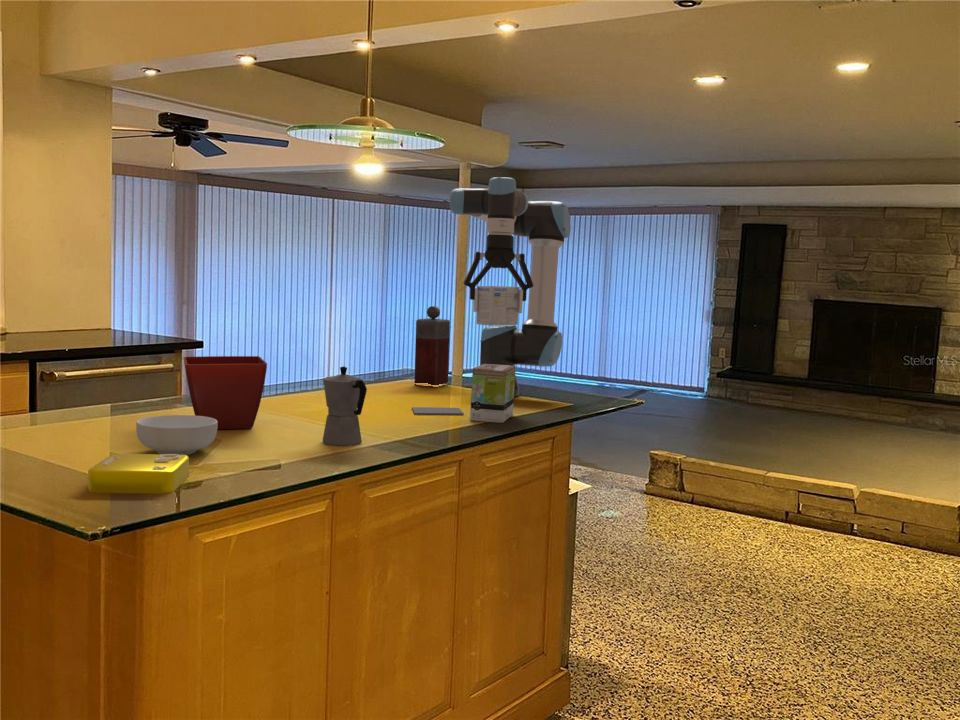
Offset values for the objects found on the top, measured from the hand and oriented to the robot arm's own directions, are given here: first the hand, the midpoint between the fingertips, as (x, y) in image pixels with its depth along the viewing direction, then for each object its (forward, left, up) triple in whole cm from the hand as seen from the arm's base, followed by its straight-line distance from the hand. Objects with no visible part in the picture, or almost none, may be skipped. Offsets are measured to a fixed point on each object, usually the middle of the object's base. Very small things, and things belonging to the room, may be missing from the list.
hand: (497, 312), depth 246 cm
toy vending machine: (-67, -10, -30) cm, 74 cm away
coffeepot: (+36, -42, -30) cm, 63 cm away
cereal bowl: (+46, -78, -30) cm, 95 cm away
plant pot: (+14, -72, -30) cm, 79 cm away
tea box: (0, 0, -30) cm, 30 cm away
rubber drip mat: (-9, -15, -30) cm, 35 cm away
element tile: (+73, -80, -30) cm, 112 cm away
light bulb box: (0, 0, -4) cm, 4 cm away
